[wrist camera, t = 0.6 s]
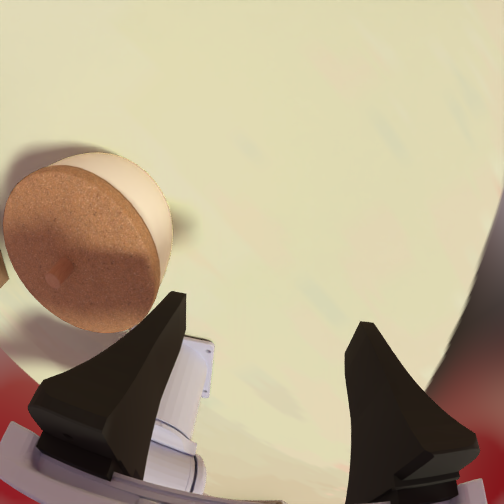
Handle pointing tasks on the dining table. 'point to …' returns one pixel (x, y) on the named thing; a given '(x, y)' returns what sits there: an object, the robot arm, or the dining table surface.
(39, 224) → the lidded jar
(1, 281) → the walnut rail
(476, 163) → the dining table surface
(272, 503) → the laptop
